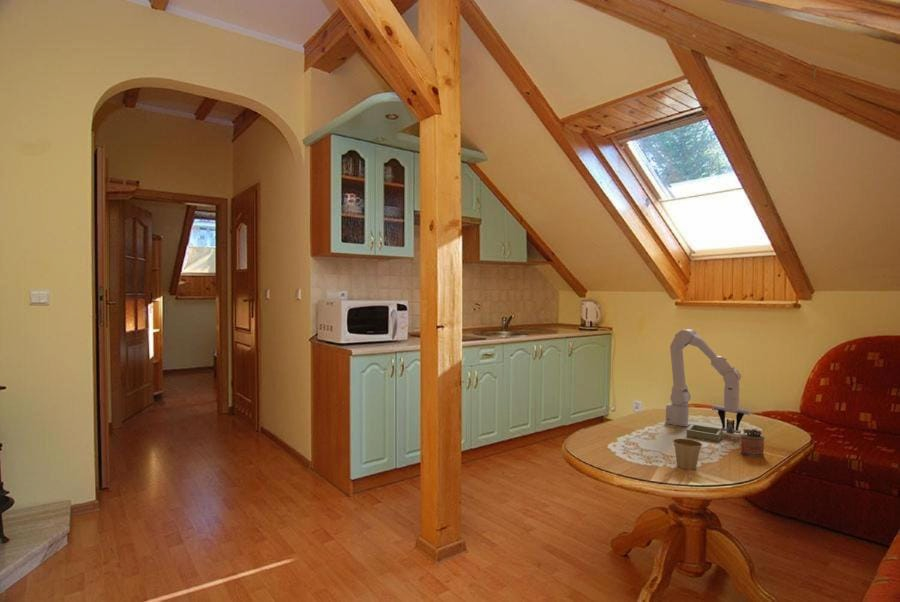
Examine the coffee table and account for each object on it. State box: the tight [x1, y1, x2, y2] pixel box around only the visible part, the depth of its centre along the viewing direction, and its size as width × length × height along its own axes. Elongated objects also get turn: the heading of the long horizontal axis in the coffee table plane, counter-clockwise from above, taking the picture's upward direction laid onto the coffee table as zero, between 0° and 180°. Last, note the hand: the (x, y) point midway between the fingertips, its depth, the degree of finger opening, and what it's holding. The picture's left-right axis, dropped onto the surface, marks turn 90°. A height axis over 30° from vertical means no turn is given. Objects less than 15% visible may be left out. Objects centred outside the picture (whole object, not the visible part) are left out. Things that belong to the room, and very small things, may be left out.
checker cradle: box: [718, 426, 745, 439], centre depth 223 cm, size 10×10×1 cm
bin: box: [686, 423, 724, 443], centre depth 217 cm, size 12×12×3 cm
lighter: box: [740, 428, 766, 458], centre depth 192 cm, size 8×3×10 cm, turn 84°
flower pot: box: [672, 438, 703, 471], centre depth 178 cm, size 9×9×9 cm
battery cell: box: [725, 418, 736, 434], centre depth 223 cm, size 3×3×6 cm
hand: (730, 428), depth 223 cm, fingers open, 4 cm apart
